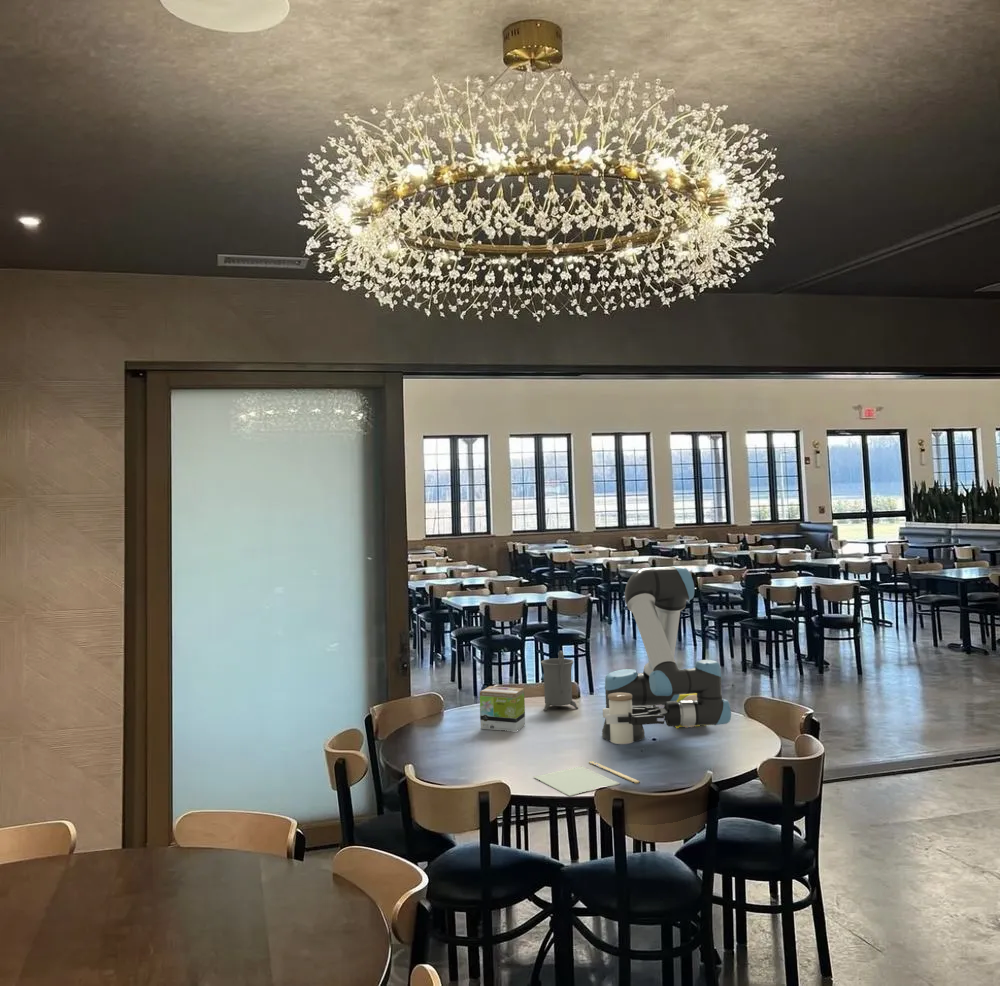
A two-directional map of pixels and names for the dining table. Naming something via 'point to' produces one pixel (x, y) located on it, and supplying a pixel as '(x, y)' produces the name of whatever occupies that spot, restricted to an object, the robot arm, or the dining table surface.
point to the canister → (620, 705)
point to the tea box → (502, 708)
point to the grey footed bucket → (558, 681)
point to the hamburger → (687, 697)
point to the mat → (575, 780)
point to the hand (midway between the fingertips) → (604, 716)
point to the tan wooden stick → (617, 773)
